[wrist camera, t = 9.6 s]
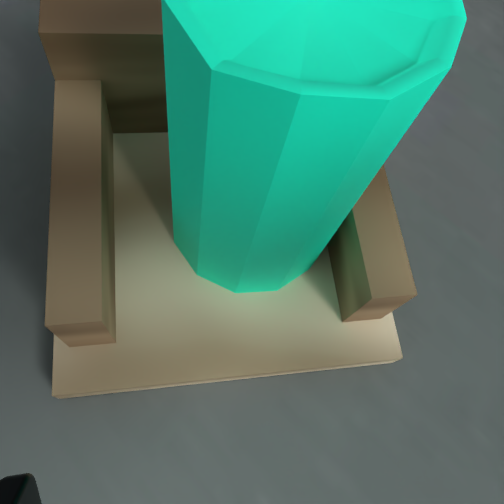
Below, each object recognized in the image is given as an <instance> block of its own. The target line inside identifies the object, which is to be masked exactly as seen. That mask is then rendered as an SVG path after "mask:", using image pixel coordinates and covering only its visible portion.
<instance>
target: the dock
mask: <svg viewBox="0 0 504 504" xmlns="http://www.w3.org/2000/svg"><path fill="white" fill-rule="evenodd" d="M38 33H39V36H40V39H41V42H42V45H43V47H44V50H45V53H46V56H47V59H48V62H49V64H50V67H51V70H52V73H53V76H54V79H55V94H54V118H53V142H52V165H51V189H50V212H49V236H48V259H47V283H46V307H45V327H47V328H48V329H49V330H50V331H51V332H52V333H54V347H53V376H52V396H54V397H56V398H59V399H62V398H71V397H80V396H90V395H99V394H108V393H117V392H126V391H136V390H145V389H154V388H163V387H173V386H182V385H191V384H200V383H210V382H219V381H228V380H237V379H247V378H256V377H265V376H274V375H283V374H293V373H302V372H311V371H320V370H330V369H339V368H348V367H357V366H367V365H376V364H385V363H392V362H395V361H397V360H400V359H402V358H403V356H402V352H401V348H400V344H399V340H398V335H397V331H396V327H395V323H394V318H393V314H392V311H393V310H395V309H397V308H398V307H400V306H401V305H403V304H404V303H406V302H407V301H409V300H410V299H412V298H413V297H415V296H416V295H417V291H416V287H415V283H414V280H413V276H412V272H411V268H410V264H409V260H408V257H407V253H406V249H405V245H404V241H403V237H402V234H401V230H400V226H399V222H398V218H397V214H396V210H395V207H394V203H393V199H392V195H391V191H390V187H389V184H388V180H387V176H386V172H385V168H384V164H383V165H382V167H381V168H380V169H379V171H378V172H377V174H376V175H375V177H374V178H373V179H372V181H371V182H370V184H369V185H368V186H367V188H366V189H365V191H364V192H363V194H362V195H361V196H360V198H359V199H358V201H357V202H356V204H355V205H354V206H353V208H352V209H351V211H350V212H349V214H348V215H347V216H346V218H345V219H344V221H343V222H342V224H341V225H340V226H339V228H338V229H337V231H336V232H335V234H334V235H333V236H332V238H331V239H330V241H329V242H328V244H327V245H326V246H325V248H324V249H323V251H322V252H321V253H320V255H319V256H318V258H317V259H316V261H315V262H314V263H313V265H312V266H311V268H310V269H309V270H308V271H306V272H305V273H303V274H302V275H300V276H299V277H297V278H296V279H294V280H293V281H291V282H290V283H288V284H287V285H285V286H284V287H282V288H281V289H279V290H278V291H265V292H248V293H234V292H232V291H230V290H228V289H225V288H223V287H221V286H219V285H217V284H215V283H213V282H211V281H209V280H206V279H204V278H202V277H200V276H198V275H197V274H196V273H195V272H194V270H193V269H192V267H191V266H190V264H189V263H188V262H187V260H186V259H185V257H184V256H183V254H182V253H181V251H180V250H179V249H178V247H177V246H176V244H175V243H174V235H173V216H172V197H171V178H170V158H169V139H168V120H167V101H166V82H165V63H164V43H163V24H162V5H161V0H40V13H39V29H38Z"/></svg>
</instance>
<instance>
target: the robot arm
mask: <svg viewBox="0 0 504 504" xmlns="http://www.w3.org/2000/svg"><path fill="white" fill-rule="evenodd" d="M0 504H42V503H41V499H40V496H39V492H38V488H37V484H36V481H35V478H34V476H33V475H32V474H29V473H26V474H19V475H13V476H7V477H4V478H3V479H1V480H0Z"/></svg>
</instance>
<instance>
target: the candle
mask: <svg viewBox="0 0 504 504" xmlns="http://www.w3.org/2000/svg"><path fill="white" fill-rule="evenodd" d="M161 5H162V24H163V43H164V63H165V82H166V101H167V120H168V139H169V158H170V178H171V197H172V216H173V235H174V243H175V244H176V246H177V247H178V249H179V250H180V251H181V253H182V254H183V256H184V257H185V259H186V260H187V262H188V263H189V264H190V266H191V267H192V269H193V270H194V272H195V273H196V274H197V275H198V276H200V277H202V278H204V279H206V280H209V281H211V282H213V283H215V284H217V285H219V286H221V287H223V288H225V289H228V290H230V291H232V292H234V293H248V292H265V291H278V290H279V289H281V288H282V287H284V286H285V285H287V284H288V283H290V282H291V281H293V280H294V279H296V278H297V277H299V276H300V275H302V274H303V273H305V272H306V271H308V270H309V269H310V268H311V266H312V265H313V263H314V262H315V261H316V259H317V258H318V256H319V255H320V253H321V252H322V251H323V249H324V248H325V246H326V245H327V244H328V242H329V241H330V239H331V238H332V236H333V235H334V234H335V232H336V231H337V229H338V228H339V226H340V225H341V224H342V222H343V221H344V219H345V218H346V216H347V215H348V214H349V212H350V211H351V209H352V208H353V206H354V205H355V204H356V202H357V201H358V199H359V198H360V196H361V195H362V194H363V192H364V191H365V189H366V188H367V186H368V185H369V184H370V182H371V181H372V179H373V178H374V177H375V175H376V174H377V172H378V171H379V169H380V168H381V167H382V165H383V164H384V162H385V161H386V159H387V158H388V157H389V155H390V154H391V152H392V151H393V149H394V148H395V147H396V145H397V144H398V142H399V141H400V139H401V138H402V137H403V135H404V134H405V132H406V131H407V129H408V128H409V127H410V125H411V124H412V122H413V121H414V119H415V118H416V117H417V115H418V114H419V112H420V111H421V110H422V108H423V107H424V105H425V104H426V102H427V101H428V100H429V98H430V97H431V95H432V94H433V92H434V91H435V90H436V88H437V87H438V85H439V84H440V82H441V81H442V80H443V78H444V77H445V75H446V74H447V72H448V71H449V70H450V68H451V67H452V64H453V60H454V57H455V54H456V51H457V48H458V45H459V42H460V39H461V35H462V32H463V29H464V26H465V23H466V20H467V17H466V13H465V9H464V5H463V2H462V0H161Z"/></svg>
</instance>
